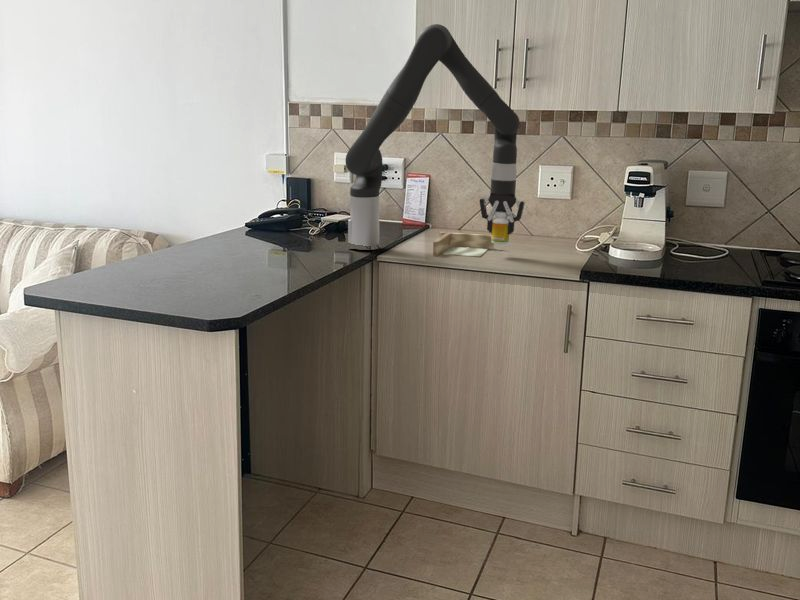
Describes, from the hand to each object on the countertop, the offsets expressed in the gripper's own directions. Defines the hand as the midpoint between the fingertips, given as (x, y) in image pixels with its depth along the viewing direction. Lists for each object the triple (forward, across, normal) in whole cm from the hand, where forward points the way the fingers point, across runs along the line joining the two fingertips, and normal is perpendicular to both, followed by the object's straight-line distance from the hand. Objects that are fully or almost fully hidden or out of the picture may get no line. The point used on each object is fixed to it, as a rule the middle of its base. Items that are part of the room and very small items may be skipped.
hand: (500, 232), depth 244 cm
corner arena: (+8, -13, +3) cm, 16 cm away
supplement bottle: (+3, 0, 0) cm, 3 cm away
